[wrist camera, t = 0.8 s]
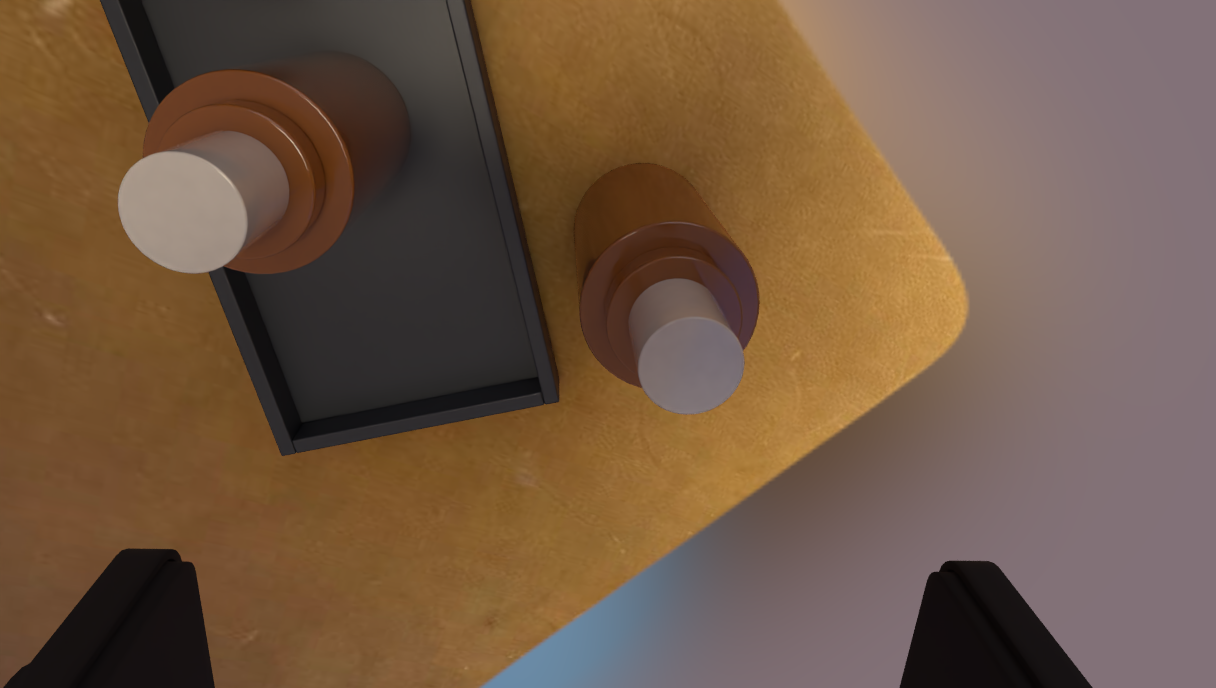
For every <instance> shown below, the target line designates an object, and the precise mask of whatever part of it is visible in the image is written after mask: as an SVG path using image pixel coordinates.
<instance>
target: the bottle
mask: <svg viewBox="0 0 1216 688" xmlns="http://www.w3.org/2000/svg"><path fill="white" fill-rule="evenodd" d="M410 144H411V125H410V119H409V114H408V111H407V108H406V105H405V103H404V101H403V99H402V97H401V95H400V93H399V91H398V90H397V88H396V87H395V85H394V84H393V83H392V82H391V81H390V79H389V78H388V77H387V76H386V75H385V74H384V73H383V72H382V71H381V70H379V69H378V68H377V67H375V66H374V65H373V64H371V63H369V62H368V61H366V60H364V59H362V58H360V57H358V56H355V55H353V54H349V53H346V52H341V51H334V50H320V51H313V52H308V53H302V54H297V55H292V56H287V57H282V58H277V59H272V60H266V61H261V62H256V63H251V64H246V65H241V66H235V67H230V68H225V69H220V70H215V71H210V72H207V73H203V74H200V75H197V76H195V77H193V78H191V79H188V80H186V81H185V82H183V83H182V84H180V85H179V86H177V87H176V88H174V89H173V90H172V91H171V92H170V93H169V94H168V95H167V96H166V97H165V98H164V99H163V100H162V102H161V103H160V104H159V105H158V107H157V108H156V110H155V112H154V114H153V116H152V117H151V120H150V122H149V125H148V128H147V130H146V135H145V140H144V146H143V158H142V159H141V160H139V161H138V162H136V163H135V164H134V165H133V166H132V167H131V168H130V169H129V170H128V172H127V173H126V175H125V176H124V178H123V180H122V183H121V185H120V189H119V194H118V210H119V215H120V219H121V222H122V225H123V227H124V229H125V231H126V233H127V235H128V236H129V238H130V239H131V241H132V242H133V243H134V245H135V246H136V247H137V248H138V249H139V250H140V251H141V252H142V253H143V254H144V255H146V256H147V257H148V258H149V259H151V260H152V261H154V262H156V263H157V264H159V265H161V266H163V267H165V268H168V269H171V270H174V271H178V272H183V273H206V272H210V271H214V270H216V269H219V268H221V267H223V266H224V267H227V268H230V269H233V270H237V271H241V272H246V273H254V274H276V273H283V272H288V271H291V270H295V269H298V268H301V267H303V266H305V265H308V264H310V263H311V262H313V261H315V260H316V259H318V258H319V257H321V256H322V255H323V254H324V253H326V252H327V251H328V250H329V249H330V248H331V247H332V246H333V245H334V244H335V243H336V241H337V240H338V239H339V238H340V237H341V236H342V235H343V234H344V233H345V232H346V231H347V230H348V229H349V227H350V226H351V225H352V224H353V223H354V222H355V221H356V220H357V219H358V218H359V217H360V216H361V215H362V213H363V212H364V211H365V210H366V209H367V208H368V207H369V206H370V205H371V204H372V203H373V202H374V201H375V199H376V198H377V197H378V196H379V195H380V194H381V193H382V192H383V191H384V190H385V189H386V188H387V187H388V185H389V184H390V183H391V182H392V181H393V180H394V179H395V178H396V177H397V175H398V174H399V173H400V171H401V170H402V168H403V166H404V164H405V162H406V159H407V156H408V153H409V149H410Z"/></svg>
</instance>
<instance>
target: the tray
mask: <svg viewBox="0 0 1216 688" xmlns="http://www.w3.org/2000/svg"><path fill="white" fill-rule="evenodd" d="M100 2H101V4H102V7H103V9H104V12H105V14H106V17H107V19H108V22H109V24H110V27H111V29H112V32H113V34H114V37H115V39H116V42H117V44H118V47H119V49H120V52H121V54H122V57H123V59H124V62H125V64H126V67H127V69H128V72H129V74H130V77H131V79H132V82H133V84H134V87H135V89H136V92H137V94H138V97H139V99H140V102H141V104H142V107H143V109H144V112H145V114H146V117H147V119H148V122H150V120H151V117H152V116H153V114H154V112H155V110H156V108H157V107H158V105H159V104H160V103H161V102H162V100H163V99H164V98H165V97H166V96H167V95H168V94H169V93H170V92H171V91H172V90H173V89H174V88H176V87H177V86H179V85H180V84H182V83H183V82H185V81H186V80H188V79H191V78H193V77H195V76H197V75H200V74H203V73H207V72H210V71H215V70H220V69H225V68H230V67H235V66H241V65H246V64H251V63H256V62H261V61H266V60H272V59H277V58H282V57H287V56H292V55H297V54H302V53H308V52H313V51H320V50H334V51H341V52H346V53H349V54H353V55H355V56H358V57H360V58H362V59H364V60H366V61H368V62H369V63H371V64H373V65H374V66H375V67H377V68H378V69H379V70H381V71H382V72H383V73H384V74H385V75H386V76H387V77H388V78H389V79H390V81H391V82H392V83H393V84H394V85H395V87H396V88H397V90H398V91H399V93H400V95H401V97H402V99H403V101H404V103H405V105H406V108H407V111H408V114H409V119H410V125H411V144H410V149H409V153H408V156H407V159H406V162H405V164H404V166H403V168H402V170H401V171H400V173H399V174H398V175H397V177H396V178H395V179H394V180H393V181H392V182H391V183H390V184H389V185H388V187H387V188H386V189H385V190H384V191H383V192H382V193H381V194H380V195H379V196H378V197H377V198H376V199H375V201H374V202H373V203H372V204H371V205H370V206H369V207H368V208H367V209H366V210H365V211H364V212H363V213H362V215H361V216H360V217H359V218H358V219H357V220H356V221H355V222H354V223H353V224H352V225H351V226H350V227H349V229H348V230H347V231H346V232H345V233H344V234H343V235H342V236H341V237H340V238H339V239H338V240H337V241H336V243H335V244H334V245H333V246H332V247H331V248H330V249H329V250H328V251H327V252H326V253H324V254H323V255H322V256H321V257H319V258H318V259H316V260H315V261H313V262H311V263H310V264H308V265H305V266H303V267H301V268H298V269H295V270H291V271H288V272H283V273H276V274H254V273H246V272H241V271H237V270H233V269H230V268H227V267H224V266H223V267H221V268H219V269H216V270H214V271H210V272H209V275H210V277H211V280H212V282H213V285H214V287H215V290H216V292H217V295H218V297H219V300H220V302H221V305H222V307H223V310H224V312H225V315H226V317H227V320H228V322H229V325H230V327H231V330H232V332H233V335H234V337H235V340H236V342H237V345H238V347H239V350H240V352H241V355H242V357H243V360H244V362H245V365H246V367H247V370H248V372H249V375H250V377H251V380H252V382H253V385H254V387H255V390H256V392H257V395H258V397H259V400H260V402H261V405H262V407H263V410H264V412H265V415H266V417H267V420H268V422H269V425H270V427H271V430H272V433H273V435H274V438H275V440H276V443H277V445H278V448H279V450H280V453H281V455H282V456H285V455H290V454H295V453H296V452H297V453H299V452H305V451H310V450H315V449H320V448H325V447H330V446H335V445H340V444H346V443H351V442H356V441H361V440H366V439H371V438H376V437H381V436H387V435H392V434H397V433H402V432H407V431H412V430H417V429H422V428H428V427H433V426H438V425H443V424H448V423H453V422H458V421H463V420H469V419H474V418H479V417H484V416H489V415H494V414H499V413H504V412H510V411H515V410H520V409H525V408H530V407H535V406H540V405H544V403H545V404H551V403H556V402H559V376H558V372H557V368H556V363H555V359H554V355H553V351H552V346H551V342H550V338H549V334H548V329H547V325H546V321H545V316H544V312H543V308H542V304H541V299H540V295H539V291H538V287H537V282H536V278H535V274H534V270H533V265H532V261H531V257H530V252H529V248H528V244H527V240H526V235H525V231H524V227H523V223H522V218H521V214H520V210H519V206H518V201H517V197H516V193H515V188H514V184H513V180H512V176H511V171H510V167H509V163H508V159H507V154H506V150H505V146H504V142H503V137H502V133H501V129H500V124H499V120H498V116H497V112H496V107H495V103H494V99H493V95H492V90H491V86H490V82H489V78H488V73H487V69H486V65H485V60H484V56H483V52H482V48H481V43H480V39H479V35H478V31H477V26H476V22H475V18H474V14H473V9H472V5H471V1H470V0H100Z"/></svg>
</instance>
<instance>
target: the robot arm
mask: <svg viewBox="0 0 1216 688" xmlns="http://www.w3.org/2000/svg"><path fill="white" fill-rule="evenodd" d="M4 688H215V686H214V680H213V674H212V668H211V662H210V656H209V650H208V643H207V637H206V631H205V625H204V619H203V613H202V607H201V601H200V595H199V588H198V582H197V576H196V571H195V567H194V565H193V564H192V563H191V562H182V560H181V557H180V555H179V553H178V552H177V551H176V550H173V549H125V550H122V551H121V552H120V553H119V554H118V555H117V556H116V557H115V558H114V559H113V560H112V562H111V563H110V564H109V565H108V567H107V568H106V569H105V570H104V572H103V573H102V574H101V575H100V577H99V578H98V579H97V580H96V582H95V583H94V584H93V585H92V587H91V588H90V589H89V590H88V592H87V593H86V594H85V595H84V597H83V598H82V599H81V600H80V602H79V603H78V604H77V605H76V607H75V608H74V609H73V610H72V612H71V613H70V614H69V615H68V617H67V618H66V619H65V620H64V622H63V623H62V624H61V625H60V627H59V628H58V629H57V630H56V632H55V633H54V634H53V635H52V637H51V638H50V639H49V640H48V642H47V643H46V644H45V645H44V647H43V648H42V649H41V650H40V652H39V653H38V654H37V655H36V657H35V658H34V659H33V660H32V662H31V663H30V664H28V665H26V666H24V667H22V668H21V669H20V670H19V671H18V672H17V673H16V674H15V675H14V676H13V677H12V678H11V679H10V680H9V681H8V683H7V684H6V685H5V686H4ZM900 688H1092V686H1091V685H1090V684H1089V683H1088V681H1087V680H1086V679H1085V677H1084V676H1083V675H1082V674H1081V672H1080V671H1079V670H1078V668H1077V667H1076V666H1075V665H1074V663H1073V662H1072V661H1071V659H1070V658H1069V657H1068V656H1067V654H1066V653H1065V652H1064V650H1063V649H1062V648H1061V647H1060V646H1059V644H1058V643H1057V642H1056V640H1055V639H1054V638H1053V636H1052V635H1051V634H1050V632H1049V631H1048V630H1047V629H1046V627H1045V626H1044V625H1043V623H1042V622H1041V621H1040V620H1039V618H1038V617H1037V616H1036V615H1035V613H1034V612H1033V611H1032V609H1031V608H1030V607H1029V605H1028V604H1027V603H1026V602H1025V600H1024V599H1023V598H1022V596H1021V595H1020V594H1019V593H1018V591H1017V590H1016V589H1015V587H1014V586H1013V585H1012V584H1011V582H1010V581H1009V580H1008V579H1007V577H1006V576H1005V575H1004V573H1003V572H1002V571H1001V569H1000V568H999V567H998V566H997V565H995V564H994V563H992V562H989V561H947V562H945V563H944V564H943V565H942V566H941V569H940V571H939V572H933V573H931V574H930V575H929V577H928V580H927V583H926V587H925V591H924V595H923V599H922V603H921V607H920V610H919V615H918V618H917V622H916V626H915V630H914V634H913V638H912V642H911V645H910V649H909V653H908V657H907V661H906V665H905V669H904V673H903V676H902V680H901V685H900Z"/></svg>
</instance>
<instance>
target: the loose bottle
mask: <svg viewBox="0 0 1216 688" xmlns="http://www.w3.org/2000/svg"><path fill="white" fill-rule="evenodd" d="M574 244H575V258H576V272H577V285H578V299H579V312H580V321H581V327H582V331H583V334H584V337H585V340H586V342H587V344H588V346H589V348H590V350H591V351H592V353H593V354H594V356H595V357H596V359H597V360H598V361H599V362H600V363H601V364H602V365H603V366H604V367H605V368H606V369H607V370H608V371H609V372H611V373H612V374H613V375H615V376H616V377H618V378H619V379H621V380H623V381H625V382H627V383H629V384H632V385H635V386H638V387H641V388H643V390H644V392H645V393H646V395H647V396H648V397H649V398H650V399H651V400H652V401H653V402H654V403H655V404H657V405H658V406H659V407H661V408H663V409H665V410H668V411H670V412H673V413H678V414H698V413H703V412H706V411H709V410H711V409H713V408H715V407H717V406H719V405H720V404H722V403H723V402H725V401H726V400H727V399H728V398H729V397H730V396H731V395H732V394H733V393H734V391H735V390H736V388H737V387H738V385H739V383H740V381H741V378H742V375H743V371H744V353H743V350H744V349H745V347H746V346H747V344H748V342H749V341H750V339H751V337H752V335H753V332H754V329H755V327H756V323H757V319H758V314H759V304H760V301H759V289H758V284H757V280H756V277H755V274H754V271H753V269H752V267H751V265H750V263H749V261H748V259H747V258H746V257H745V255H744V254H743V252H742V251H741V250H740V248H739V247H738V246H737V244H736V243H735V242H734V240H733V239H732V238H731V236H730V235H729V234H728V232H727V231H726V230H725V228H724V227H723V226H722V224H721V223H720V222H719V220H718V219H717V218H716V216H715V215H714V214H713V212H712V211H711V210H710V208H709V207H708V206H707V204H706V203H705V202H704V200H703V199H702V198H701V196H700V195H699V193H698V192H697V191H696V189H695V188H694V187H693V186H692V185H691V184H690V183H689V181H688V180H686V179H685V178H684V177H683V176H681V175H680V174H678V173H677V172H675V171H673V170H671V169H669V168H667V167H664V166H660V165H657V164H650V163H635V164H628V165H625V166H621V167H618V168H616V169H614V170H611V171H610V172H608V173H606V174H604V175H603V176H602V177H600V178H599V179H598V180H597V181H596V182H595V183H594V184H593V185H592V186H591V187H590V188H589V189H588V191H587V192H586V193H585V195H584V196H583V198H582V200H581V202H580V204H579V206H578V209H577V212H576V216H575V221H574Z"/></svg>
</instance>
